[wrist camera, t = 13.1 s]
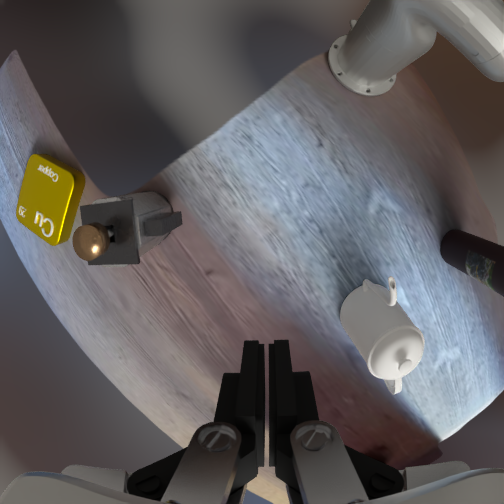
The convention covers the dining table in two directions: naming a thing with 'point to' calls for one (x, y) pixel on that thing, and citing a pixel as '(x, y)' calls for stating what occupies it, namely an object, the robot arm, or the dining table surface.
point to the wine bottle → (475, 258)
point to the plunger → (91, 240)
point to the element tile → (49, 198)
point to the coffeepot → (382, 332)
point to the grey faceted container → (131, 225)
